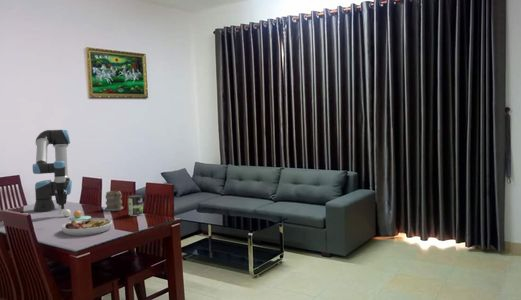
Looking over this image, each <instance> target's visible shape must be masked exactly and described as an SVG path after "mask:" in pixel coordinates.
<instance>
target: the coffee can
mask: <svg viewBox="0 0 521 300" xmlns="http://www.w3.org/2000/svg"><path fill="white" fill-rule="evenodd" d="M127 199H128V200H127V202H128V216H129V215H130V216H129V217H137V215H139V216H142V214H144V213H143V212H144V211H143V209H144V207H143V205H144V204H143V195H142V194H131V195H128V196H127Z"/></svg>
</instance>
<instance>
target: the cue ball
mask: <svg viewBox="0 0 521 300" xmlns="http://www.w3.org/2000/svg"><path fill="white" fill-rule="evenodd" d="M71 214H72V212H71V209H68V208H64V211H63V213H62V215H63V216H64V217H66V218H67V217H70V216H71Z"/></svg>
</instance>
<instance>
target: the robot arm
mask: <svg viewBox="0 0 521 300" xmlns="http://www.w3.org/2000/svg"><path fill="white" fill-rule="evenodd" d="M69 135H70V134H69V131H68V130H67V129H47V130H43V131H42V132H40V133H39V134H38V135H37V136H36V139H35V146H36V156H35V158H36V159H35V163H33V164H32V173H33V174H34V175H43V174H54V178H53V179H54V180H53V181H52V179H46V180H41V181H37V182H36V183H35V184H34V189H35V193H34V194H35V203H34V206H33V212H39V213H40V212H49V211H54V210H55V209H56V206H55V203H56V205H58V210H59V214H60V215H63V211H64V210H65V205H66V204H67V199H68V195H71V193H72V185H73V181H72V180H71V178H70V177H69V175H68V174H69V173H68V172H69V171H68V157H67V156H68V154H67V151H68V150H67V148H68V146H69V145H70V143H71V141H70V136H69ZM49 145H52V147H53V148H54V155H55V161H54V162H49V163H48V146H49ZM53 197H55V203H54V201H53Z"/></svg>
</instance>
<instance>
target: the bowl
mask: <svg viewBox="0 0 521 300" xmlns="http://www.w3.org/2000/svg"><path fill="white" fill-rule="evenodd" d="M112 225H113V221H112V220H111V219H110V218H107V217H106V218H104V217H91V218H88V219H80V220H70V221H67V222H65V223H63V224H61V231H62V232H63V233H64V235H65V234H66V235H67V236H77V237H80V236H92V235H97V234H102V233H104V232H107V231H108V230H109V229H111V227H112ZM101 232H102V233H101Z"/></svg>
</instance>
